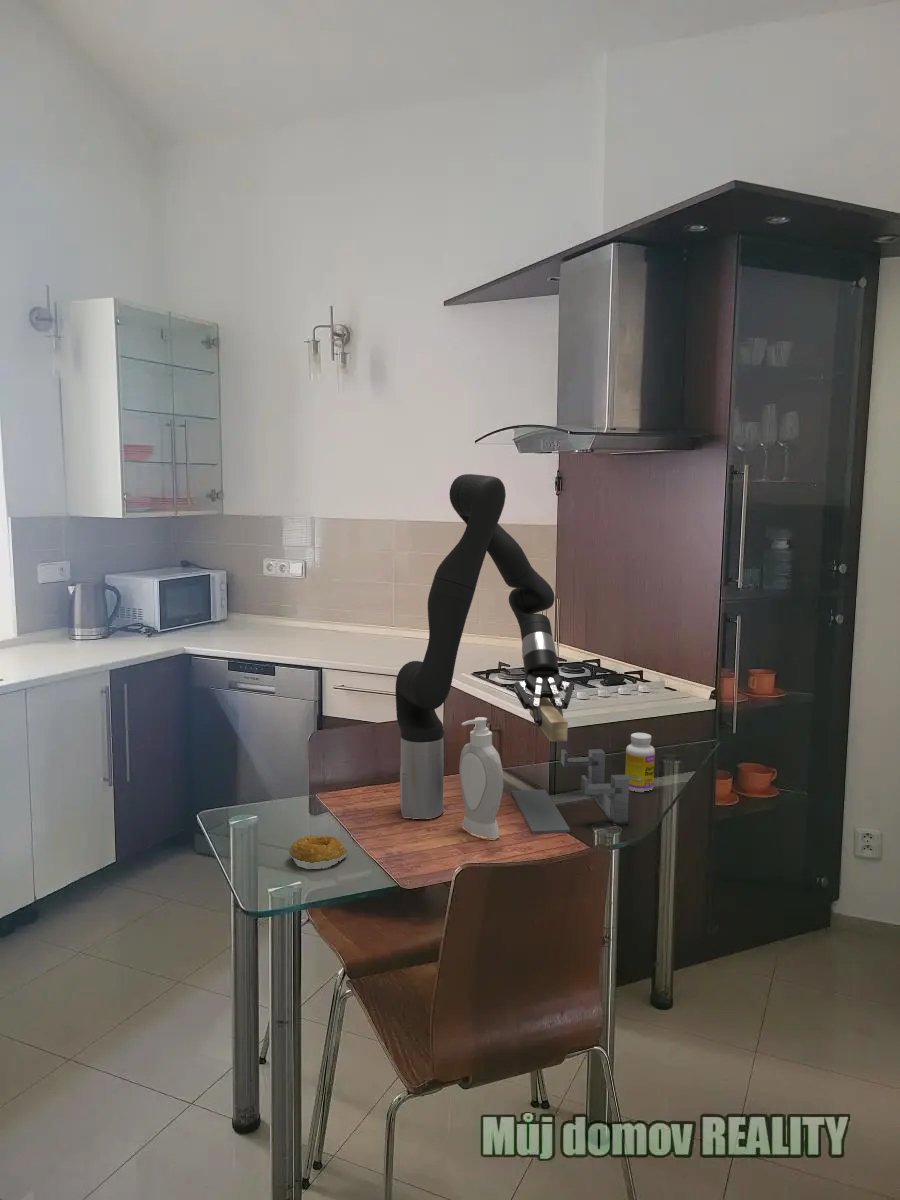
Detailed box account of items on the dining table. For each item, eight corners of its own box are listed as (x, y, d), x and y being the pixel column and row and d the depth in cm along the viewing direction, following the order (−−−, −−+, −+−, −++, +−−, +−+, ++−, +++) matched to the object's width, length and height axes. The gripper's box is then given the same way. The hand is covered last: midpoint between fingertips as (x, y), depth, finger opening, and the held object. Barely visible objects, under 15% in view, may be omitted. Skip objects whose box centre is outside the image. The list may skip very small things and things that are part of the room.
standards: (583, 826, 192) (584, 780, 191) (560, 792, 213) (561, 749, 211) (627, 825, 193) (629, 778, 192) (600, 790, 214) (601, 748, 212)
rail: (550, 741, 186) (550, 722, 186) (529, 713, 208) (530, 696, 207) (567, 741, 186) (567, 722, 186) (544, 713, 208) (545, 696, 208)
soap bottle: (441, 829, 190) (441, 715, 187) (469, 820, 195) (469, 709, 192) (483, 849, 181) (484, 729, 177) (511, 839, 186) (512, 722, 182)
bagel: (352, 867, 173) (351, 843, 172) (293, 876, 169) (292, 851, 169) (341, 847, 182) (340, 824, 182) (286, 855, 179) (285, 832, 178)
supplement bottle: (646, 795, 211) (647, 741, 209) (619, 789, 215) (621, 736, 213) (658, 787, 216) (660, 734, 214) (632, 781, 220) (634, 729, 218)
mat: (532, 833, 188) (532, 831, 188) (511, 793, 212) (511, 790, 212) (570, 832, 189) (570, 829, 189) (545, 791, 213) (545, 789, 213)
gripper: (510, 647, 202) (519, 716, 191) (573, 647, 203) (585, 715, 193) (506, 666, 208) (514, 733, 197) (567, 666, 209) (578, 732, 199)
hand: (549, 724), depth 195 cm, fingers closed on rail, 3 cm apart
